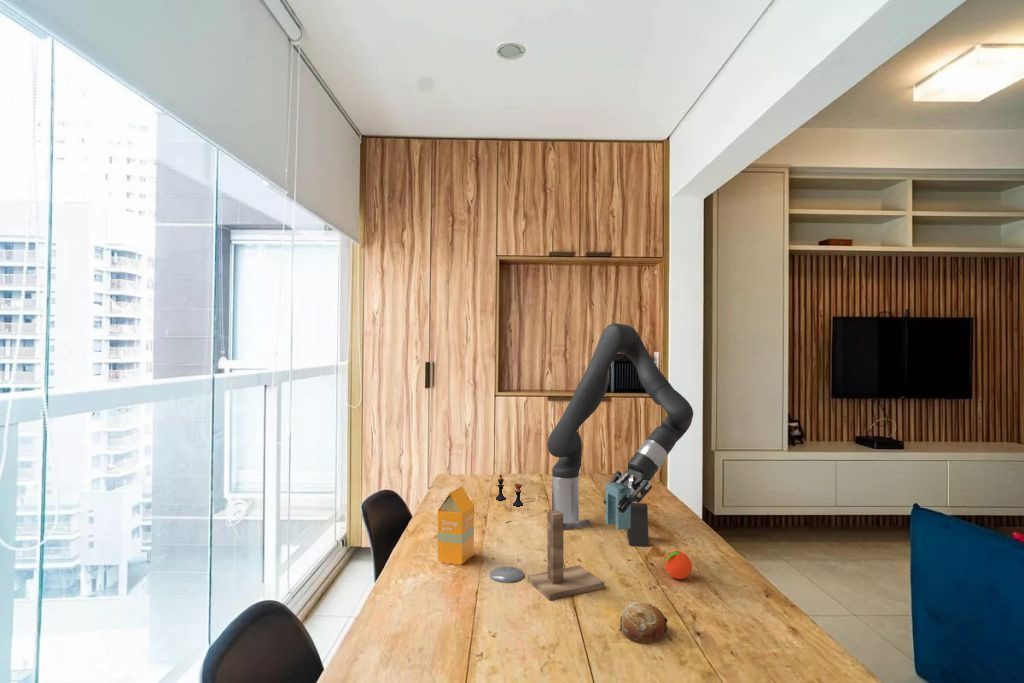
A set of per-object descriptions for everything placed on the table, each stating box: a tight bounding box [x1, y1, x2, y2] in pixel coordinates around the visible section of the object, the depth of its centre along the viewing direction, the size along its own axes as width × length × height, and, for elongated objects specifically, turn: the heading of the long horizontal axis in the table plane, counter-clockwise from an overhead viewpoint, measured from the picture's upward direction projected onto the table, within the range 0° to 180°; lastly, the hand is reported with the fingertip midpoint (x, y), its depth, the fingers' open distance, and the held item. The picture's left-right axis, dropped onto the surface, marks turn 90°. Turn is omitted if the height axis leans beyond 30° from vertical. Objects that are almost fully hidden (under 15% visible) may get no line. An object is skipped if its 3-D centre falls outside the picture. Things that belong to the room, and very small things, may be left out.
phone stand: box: [626, 502, 650, 547], centre depth 172 cm, size 9×6×12 cm, turn 172°
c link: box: [604, 482, 631, 531], centre depth 148 cm, size 6×4×11 cm, turn 24°
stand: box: [527, 510, 606, 601], centre depth 140 cm, size 12×16×19 cm
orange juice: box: [437, 486, 475, 565], centre depth 158 cm, size 8×9×20 cm
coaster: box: [489, 566, 525, 584], centre depth 146 cm, size 9×9×1 cm
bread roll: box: [618, 600, 669, 644], centre depth 117 cm, size 10×10×8 cm
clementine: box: [664, 550, 693, 580], centre depth 144 cm, size 8×7×7 cm
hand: (612, 507), depth 147 cm, fingers closed on c link, 6 cm apart
